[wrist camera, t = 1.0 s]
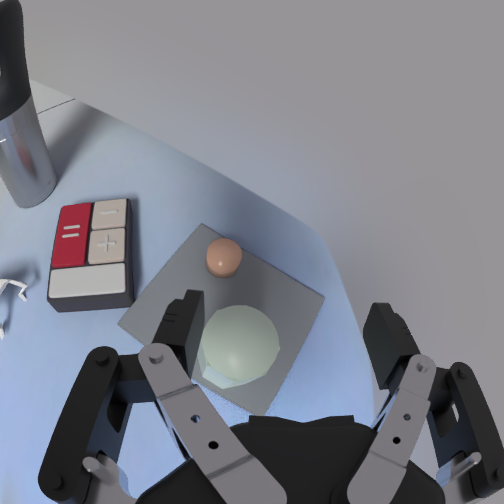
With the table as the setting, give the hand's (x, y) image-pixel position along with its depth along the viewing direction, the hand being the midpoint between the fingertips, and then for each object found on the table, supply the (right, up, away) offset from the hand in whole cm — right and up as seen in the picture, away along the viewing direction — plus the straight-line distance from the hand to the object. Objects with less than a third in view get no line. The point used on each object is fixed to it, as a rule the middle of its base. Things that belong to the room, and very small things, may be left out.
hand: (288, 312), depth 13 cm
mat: (-5, -5, +22) cm, 23 cm away
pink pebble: (-6, +1, +24) cm, 25 cm away
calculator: (-23, +2, +22) cm, 32 cm away
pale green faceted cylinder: (-5, -10, +18) cm, 21 cm away
